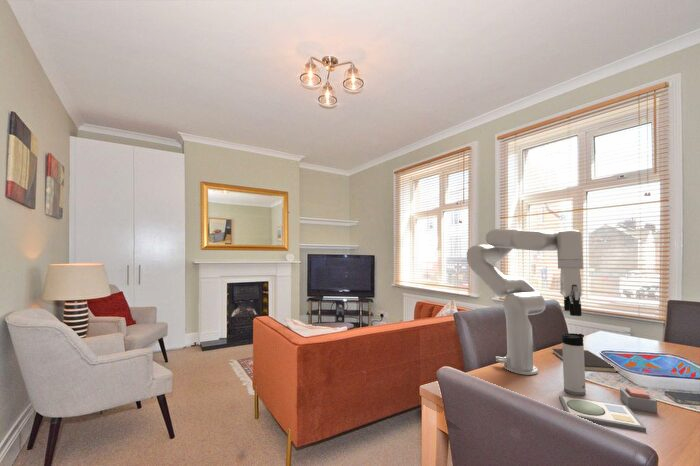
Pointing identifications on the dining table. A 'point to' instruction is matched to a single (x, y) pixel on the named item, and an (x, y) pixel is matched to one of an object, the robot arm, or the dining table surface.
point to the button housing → (638, 402)
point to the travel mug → (573, 363)
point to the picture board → (602, 412)
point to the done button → (637, 393)
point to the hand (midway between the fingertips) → (572, 313)
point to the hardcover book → (590, 361)
